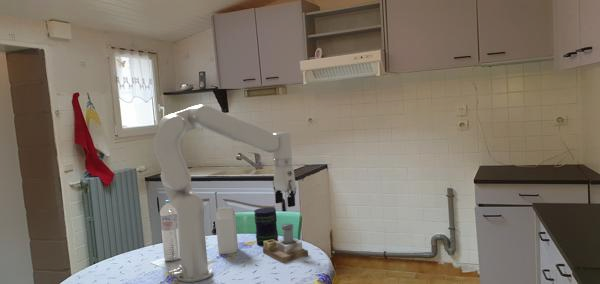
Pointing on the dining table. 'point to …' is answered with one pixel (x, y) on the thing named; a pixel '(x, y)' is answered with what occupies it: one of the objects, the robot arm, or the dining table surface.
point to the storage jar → (265, 225)
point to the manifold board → (284, 250)
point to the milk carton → (226, 230)
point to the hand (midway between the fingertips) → (285, 204)
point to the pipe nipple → (288, 233)
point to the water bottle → (170, 232)
